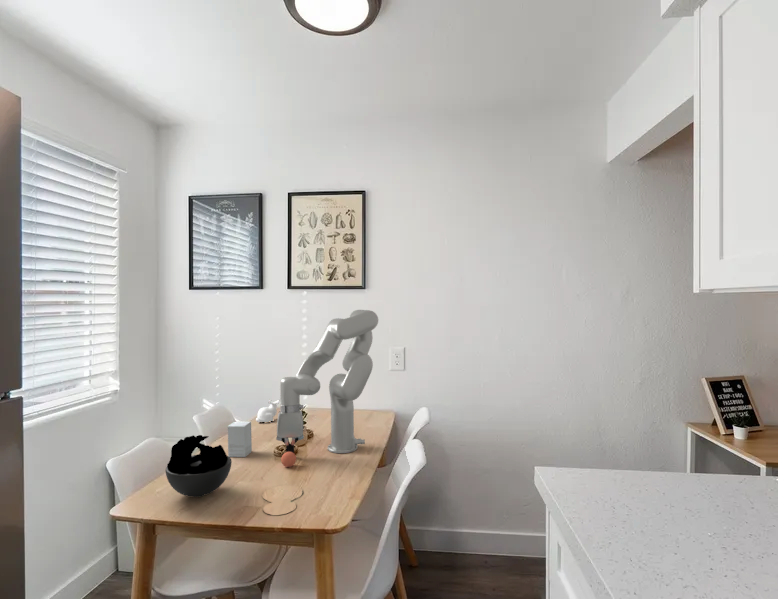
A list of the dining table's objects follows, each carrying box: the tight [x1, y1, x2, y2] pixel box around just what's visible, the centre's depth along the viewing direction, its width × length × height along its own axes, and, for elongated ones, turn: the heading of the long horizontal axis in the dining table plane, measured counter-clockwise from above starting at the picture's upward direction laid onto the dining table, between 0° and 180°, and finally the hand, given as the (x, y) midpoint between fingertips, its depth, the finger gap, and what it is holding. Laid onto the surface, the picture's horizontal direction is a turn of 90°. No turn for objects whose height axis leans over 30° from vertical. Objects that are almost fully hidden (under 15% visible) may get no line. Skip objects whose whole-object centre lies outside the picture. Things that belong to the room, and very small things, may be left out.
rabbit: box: [255, 398, 280, 423], centre depth 238 cm, size 12×9×12 cm
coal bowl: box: [165, 434, 233, 498], centre depth 151 cm, size 20×20×19 cm
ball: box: [280, 451, 297, 468], centre depth 175 cm, size 6×6×6 cm
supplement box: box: [227, 421, 253, 458], centre depth 189 cm, size 7×7×13 cm
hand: (290, 454), depth 184 cm, fingers closed
